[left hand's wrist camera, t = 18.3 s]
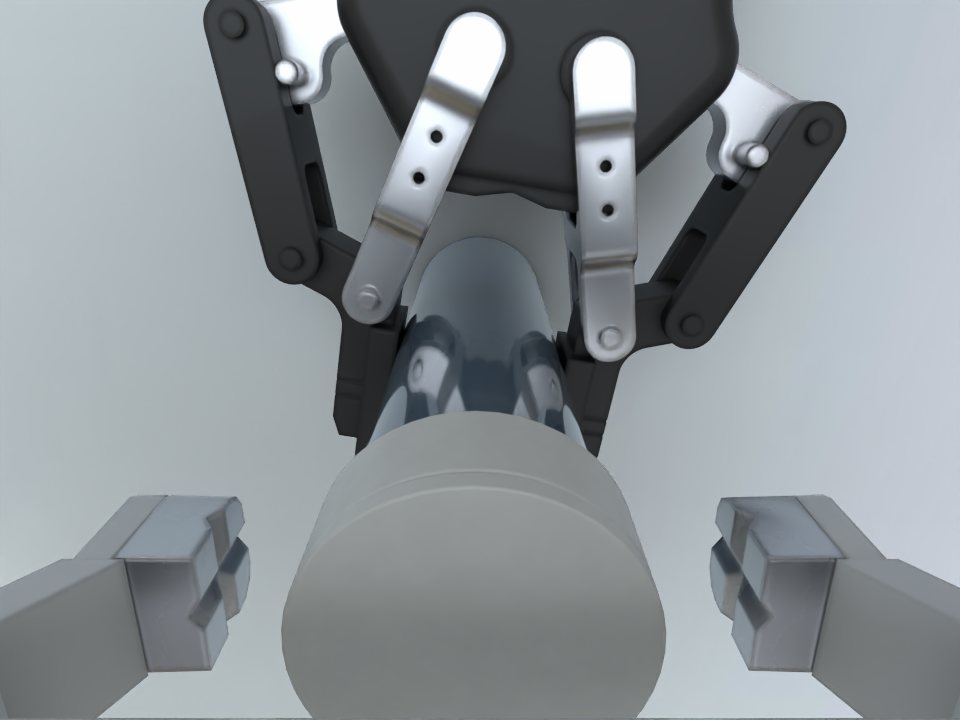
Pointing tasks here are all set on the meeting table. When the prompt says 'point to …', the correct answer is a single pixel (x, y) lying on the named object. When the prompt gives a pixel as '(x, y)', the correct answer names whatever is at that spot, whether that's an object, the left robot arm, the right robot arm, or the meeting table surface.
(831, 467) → the meeting table surface
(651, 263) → the meeting table surface
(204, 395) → the meeting table surface
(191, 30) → the meeting table surface
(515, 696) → the lid
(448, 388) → the blue-grey bottle
